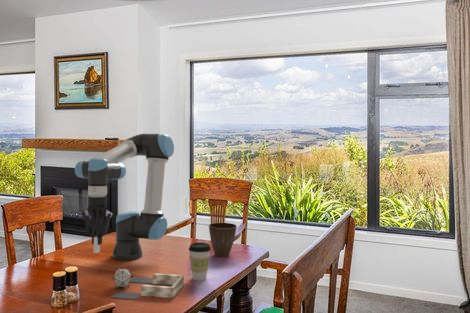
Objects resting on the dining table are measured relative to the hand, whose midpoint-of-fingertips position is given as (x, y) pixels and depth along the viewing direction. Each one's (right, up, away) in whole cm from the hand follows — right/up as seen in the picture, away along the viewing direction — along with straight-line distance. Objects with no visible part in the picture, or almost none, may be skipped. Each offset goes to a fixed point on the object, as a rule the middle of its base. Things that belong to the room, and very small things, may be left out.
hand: (96, 252), depth 174 cm
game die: (+11, -15, 0) cm, 18 cm away
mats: (+16, -15, -1) cm, 22 cm away
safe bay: (+28, -15, -3) cm, 31 cm away
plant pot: (+51, -13, +51) cm, 73 cm away
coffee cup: (+42, -15, +13) cm, 46 cm away
